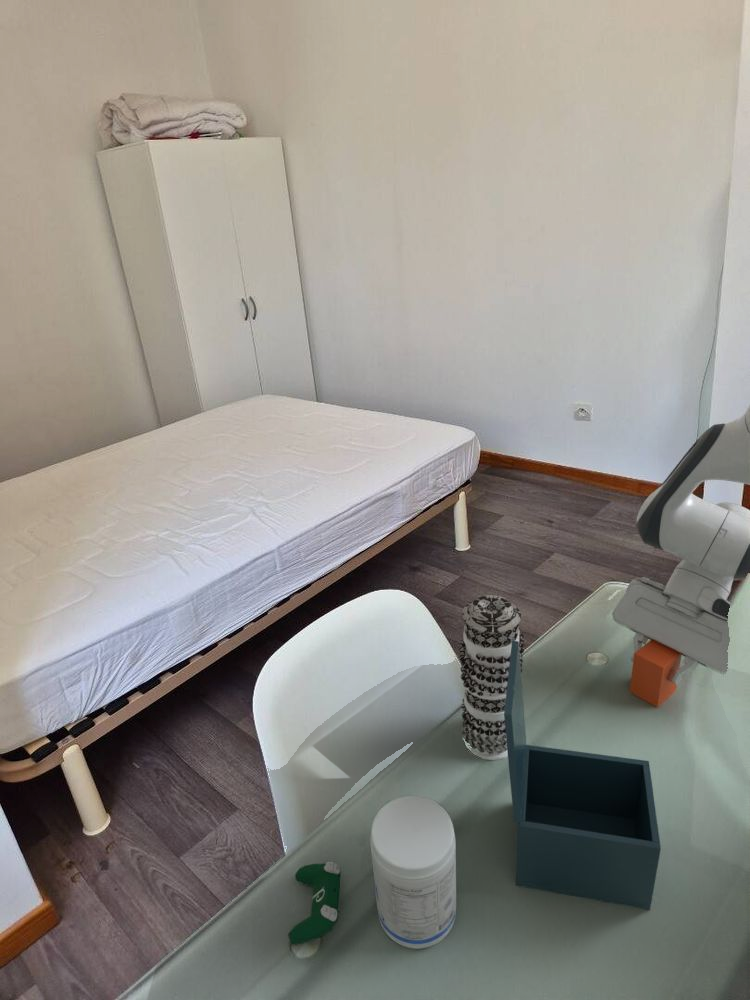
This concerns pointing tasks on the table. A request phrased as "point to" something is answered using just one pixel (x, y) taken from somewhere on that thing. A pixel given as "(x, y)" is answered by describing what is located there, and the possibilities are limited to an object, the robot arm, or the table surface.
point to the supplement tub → (414, 871)
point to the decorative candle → (487, 672)
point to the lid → (515, 731)
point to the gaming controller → (318, 901)
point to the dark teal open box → (588, 827)
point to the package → (654, 672)
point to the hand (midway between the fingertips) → (653, 672)
